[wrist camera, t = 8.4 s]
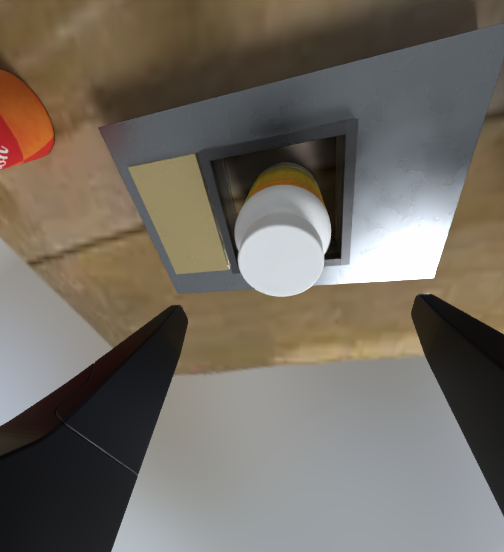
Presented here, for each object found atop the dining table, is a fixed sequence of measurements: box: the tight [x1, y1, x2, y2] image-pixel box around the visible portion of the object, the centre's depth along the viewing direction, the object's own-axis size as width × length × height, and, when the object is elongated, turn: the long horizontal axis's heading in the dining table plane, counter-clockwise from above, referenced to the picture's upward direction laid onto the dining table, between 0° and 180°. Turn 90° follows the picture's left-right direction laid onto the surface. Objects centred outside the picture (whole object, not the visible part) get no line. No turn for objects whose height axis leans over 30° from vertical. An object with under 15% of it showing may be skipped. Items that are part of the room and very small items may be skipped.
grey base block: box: [99, 23, 504, 294], centre depth 17 cm, size 22×14×3 cm, turn 101°
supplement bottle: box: [235, 163, 331, 297], centre depth 14 cm, size 5×5×10 cm
